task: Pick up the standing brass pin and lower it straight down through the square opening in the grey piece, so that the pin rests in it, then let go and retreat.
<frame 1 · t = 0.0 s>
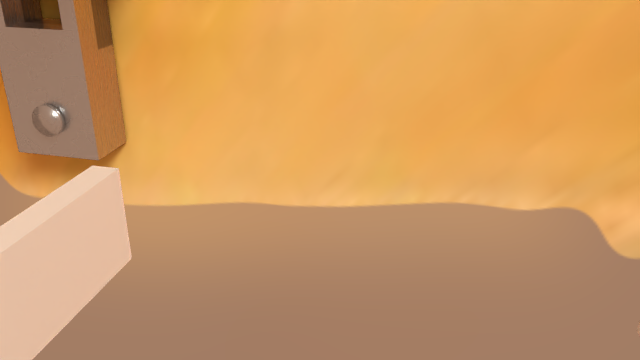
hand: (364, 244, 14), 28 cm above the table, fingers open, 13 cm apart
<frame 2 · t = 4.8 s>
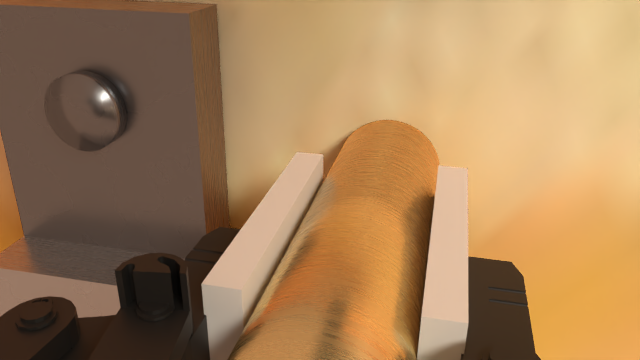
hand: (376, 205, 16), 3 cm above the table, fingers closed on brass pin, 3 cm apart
brass pin: (388, 168, 18), on the table, touching gripper
grey piece: (153, 308, 23), on the table
when the fingers open (5 cm above the table, at t = 10.5 s): brass pin stays where it is, resting in grey piece.
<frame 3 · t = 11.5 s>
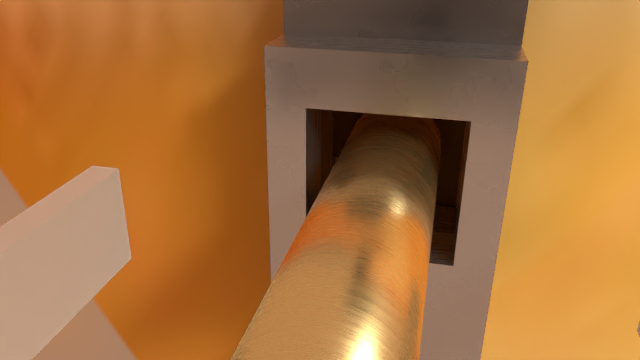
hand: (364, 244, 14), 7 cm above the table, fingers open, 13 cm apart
brass pin: (395, 144, 21), resting in grey piece
grey piece: (396, 142, 21), on the table
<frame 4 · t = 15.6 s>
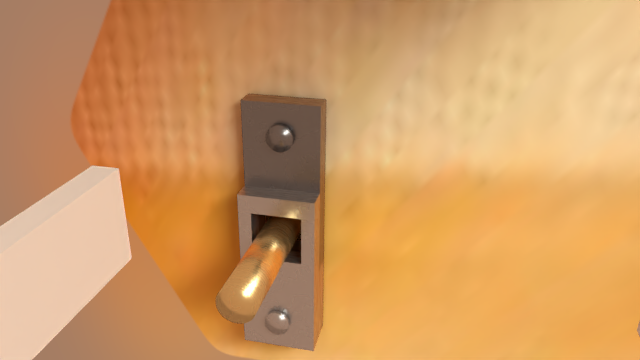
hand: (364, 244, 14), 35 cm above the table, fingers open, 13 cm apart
brass pin: (288, 219, 55), resting in grey piece
grey piece: (288, 218, 55), on the table
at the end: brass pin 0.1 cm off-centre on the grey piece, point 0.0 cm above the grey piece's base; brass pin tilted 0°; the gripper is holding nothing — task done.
